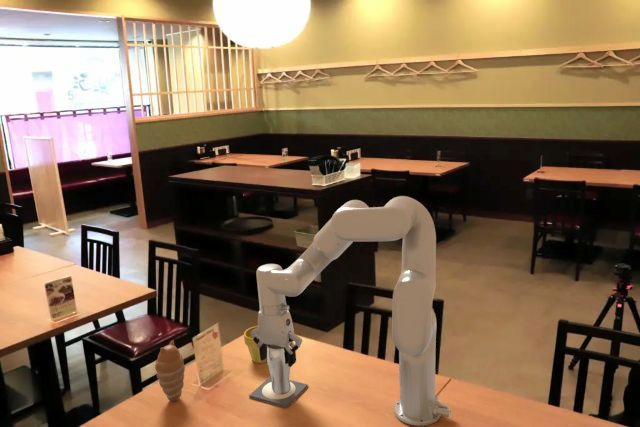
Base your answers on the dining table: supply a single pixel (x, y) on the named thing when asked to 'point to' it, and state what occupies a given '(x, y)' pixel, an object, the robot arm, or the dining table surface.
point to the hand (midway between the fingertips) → (278, 361)
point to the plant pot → (252, 346)
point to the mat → (284, 401)
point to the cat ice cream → (170, 371)
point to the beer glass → (278, 370)
